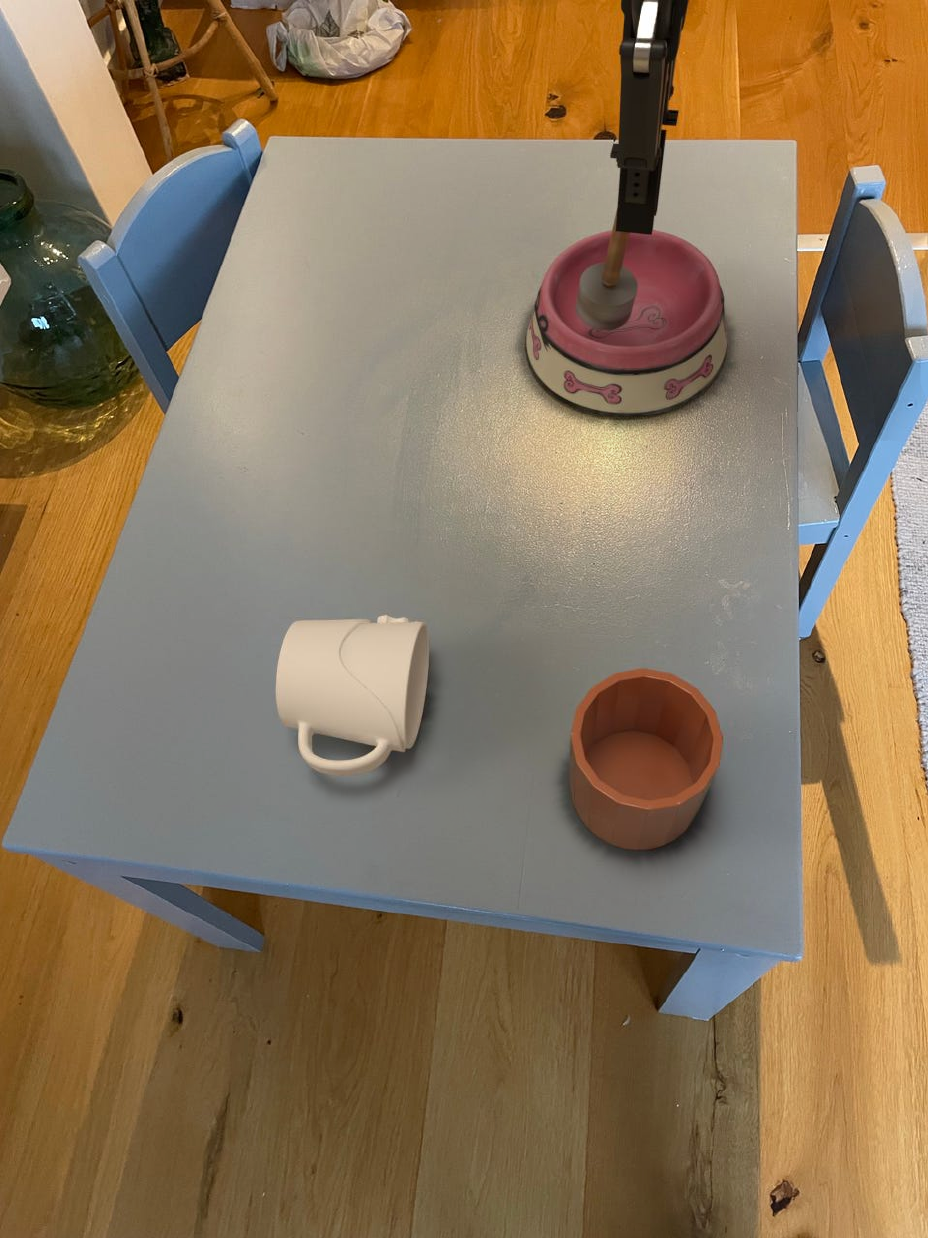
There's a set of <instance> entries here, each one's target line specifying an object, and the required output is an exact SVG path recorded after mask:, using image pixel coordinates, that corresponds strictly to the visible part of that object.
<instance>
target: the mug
mask: <svg viewBox="0 0 928 1238" xmlns="http://www.w3.org/2000/svg"><path fill="white" fill-rule="evenodd" d="M429 633H430V632H429V627H428V624H427V623H426V622H425V621H416V620H415V621H410V620H409V619H408V618H407V617H405V616H403V617H399V618H396V617H392V616H390V615H388V614H385V615H380V616H378V617H377V622H371V620H369V618H351V619H350V618H349V619H347V618H346V619H345V618H344V619H343V618H342V619H308V620H307V619H305V620H303V619H302V620H301V619H299V620H296V621H294V622H293V623H291V625H290V626H289V627H288V629H287V631H286V633H285V636H284V638H283V641H282V644H281V646H280V651H279V655H278V661H277V668H276V678H275V699H276V700H275V701H276V709H277V713H278V718H279V719H280V722H281V723H282V725H283V726H285V727H287V728H290V729H295V730H298V732H297V733H298V734H297V735H298V736H297V738H298V739H297V743H298V750H299V753H300V755H301V757H302V758H303V760H304V761H305V762H306V764H307V765H308V766H309V767H310V768H312V769H313V770H315V771H317V772H318V773H322V774H325V775H329V776H336V777H350V776H356V775H357V776H358V775H362V774H365V773H368V772H371V771H373V770H375V769H377V768H378V767H380V766H381V765H382V764H383V763H384V762H386V760H388V757H389V756H390V754H391V753H392V751H396V752H400V753H405V752H406V749H408V750H410V749H411V748H412V747H413V746H414V744H415V742H416V740H417V737H418V735H419V730H420V726H421V722H422V717H423V712H424V708H425V701H426V695H427V687H428V679H429V667H430V634H429ZM315 734H318V735H321V736H327V737H331V738H337V739H341V740H346V741H350V742H355V743H360V744H364V745H369V746H373V747H375V748H374V749H373V750H372V751H371V752H369V753H366V754H365V755H363V756H360V757H356V758H353V759H346V760H344V759H343V760H333V759H327V758H323V757H321V756H318V755H316V754H315V753H314V752H313V736H314V735H315Z"/></svg>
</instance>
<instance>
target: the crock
mask: <svg viewBox="0 0 928 1238" xmlns="http://www.w3.org/2000/svg"><path fill="white" fill-rule="evenodd" d="M569 744H570V745H569V771H568V785H569V790H570V798H571V802H572V805H573V808H574V809H575V811H576V814H577V815H578V817H579V819H580V821H582V823H583V824H584V826H585V827H586V828H587V829H588V830H589V831H590V832H591V833H592V834H594V835H595V836H596V837H597V838H599V839H601V840H602V841H604V842H605V843H607V844H610V845H611V846H614V847H618V848H621V849H623V850H624V849H625V850H631V851H647V850H653V849H657V848H660V847H663V846H665V845H668V844H670V843H671V842H673V841H675V840H676V839H678V838H679V837H680V836H681V835H682V834H684V833H685V832H686V831H687V830H688V828H689V827H690V825H691V824H692V822H693V820H694V819H695V817H696V815H697V814H698V813H699V811H700V809H701V806H702V804H703V802H704V800H705V798H706V796H707V793H708V791H709V789H710V787H711V785H712V783H713V781H714V778H715V777H716V774H717V773H718V770H719V767H720V765H721V758H722V751H723V745H724V735H723V733H722V730H721V726H720V722H719V718H718V715H717V712H716V710H715V709H714V707H713V706H712V704H711V703H710V702H709V701H708V700H707V698H706V697H705V696H704V695H703V693H702V692H701V691H700V690H699V688H697V687H695V686H694V685H692V684H690V683H689V682H687V681H686V680H683V679H682V678H681V677H678V676H677V675H675V673H674V674H673V673H671V672H665V671H660V670H656V669H649V668H644V667H643V668H638V669H637V668H636V669H631V670H626V671H625V670H624V671H619V672H615V673H613V674H611V675H610V676H608V677H606V678H605V679H603V680H601V681H600V682H597V683H596V684H594V685H593V686H592V687H590V689H589V691H587V693H586V694H585V696H584V697H583V698H582V700H581V701H580V703H579V704H578V705H577V707H576V708H575V713H574V717H573V721H572V726H571V731H570V743H569Z"/></svg>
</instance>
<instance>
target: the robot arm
mask: <svg viewBox="0 0 928 1238" xmlns="http://www.w3.org/2000/svg"><path fill="white" fill-rule="evenodd" d="M689 2H690V0H620V10H621V12H622V14H623V27H622V28H623V29H622V40H621V43H620V45H619V48H618V55H619V57H620V59H619V60H620V61H619V62H620V63H619V64H620V92H619V93H620V95H619V96H620V97H619V119H618V123H619V124H618V140H617V141H618V142H617V143H612V146H611V151H610V154H609V157H610V158H609V159H615V162H616V167H617V168H618V169H619V180H618V193H617V206H616V211H617V220H616V231H618V232H628V233H638V234H647V235H652V231H653V230H654V226H655V225H654V223H655V217H656V216H657V213H658V207H659V199H660V190H661V184H662V183H661V182H662V175H663V174H662V173H663V165H664V157H665V156H664V155H665V147H666V139H667V129H663V126H670V127H677V125H678V124H677V123H678V118H679V111H680V110H678V109H669V106H670V105H669V104H670V101H671V98H672V97H673V95H674V93H675V92H674V91H675V86H674V77H675V69H676V62H677V56H678V52H679V47H680V44H681V37H682V36H681V35H682V31H683V30H684V27H685V23H686V18H687V15H688V14H687V13H688V7H689ZM667 78H668V81H667Z"/></svg>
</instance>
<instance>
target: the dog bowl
mask: <svg viewBox="0 0 928 1238" xmlns="http://www.w3.org/2000/svg"><path fill="white" fill-rule="evenodd" d="M611 233H612V229H611V230H607V231H602V232H599V233H594V234H592V235H590V236H587V237H584V238H582V239H580V240H578V241H577V242H575V243H573V244H571V245H570V246H568V247H566V248H565V249H564V250H563V251H562V252H560V254H558V256H557V257H556V258H555V259H554V260H553V261H552V263H551V264H550V266H549V267H548V268H547V270H546V271H545V274H544V277H543V280H542V282H541V285H540V286H539V289H538V292H537V296H536V299H535V302H534V306H533V307H534V309H533V313H532V316H531V319H530V320H529V324H528V327H527V330H526V333H525V336H524V337H525V338H524V339H525V340H524V352H525V356H526V361H527V364H528V367H529V370H530V371H531V373H532V375H533V377H534V378H535V380H536V381H537V383H538V384H539V385H540V386H541V387H542V388H543V389H544V390H545V392H547V393H548V394H549V395H550V396H552V397H553V398H554V399H556V400H558V401H559V402H561V403H563V404H564V405H566V406H568V407H569V408H572V409H575V410H578V411H580V412H583V413H586V414H589V415H593V416H598V417H603V418H604V417H605V418H611V419H612V418H613V419H633V418H643V417H652V416H657V415H662V414H664V413H665V414H666V413H668V412H671V411H673V410H676V409H678V408H680V407H682V406H685V405H686V404H688V403H690V402H692V401H693V400H694V399H696V398H698V397H699V396H700V395H702V394H703V393H704V392H705V391H706V390H707V389H709V387H711V386H712V385H713V383H714V382H715V380H716V379H717V378H718V376H719V375H720V373H721V371H722V369H723V367H724V365H725V362H726V359H727V355H728V348H729V347H728V346H729V341H728V330H727V325H726V320H725V316H726V314H725V313H726V311H725V295H724V291H723V288H722V285H721V282H720V279H719V275H718V273H717V271H716V268H715V266H714V265H713V263H712V262H711V260H710V259H709V258H708V257H707V256H706V255H705V253H703V251H702V250H700V249H699V248H698V247H696V246H695V245H694V244H692V243H691V242H689V241H688V240H685V239H683V238H681V237H679V236H676V235H674V234H671V233H668V232H664V231H660V230H654V229H653V231H652V235H647V234H638V233H630V236H629V240H628V244H627V248H626V252H625V256H624V260H623V264H622V266H623V267H625V268H626V269H628V270H629V271H630V272H631V273H632V274H633V275H634V276H635V278H636V280H637V283H638V290H637V294H636V298H635V301H634V305H633V309H632V312H631V316H630V318H629V320H628V321H627V322H626V323H625V324H624V325H623V326H621V327H619V328H616V329H613V330H599V329H595V328H592V327H590V326H588V325H586V324H585V323H584V322H582V321H581V319H580V318H579V317H578V315H577V313H576V310H575V303H576V298H577V293H578V288H579V283H580V278H581V275H582V274H583V272H584V271H585V270H586V269H587V268H589V267H590V266H592V265H595V264H598V263H605V260H606V256H607V251H608V247H609V242H610V238H611Z"/></svg>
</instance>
